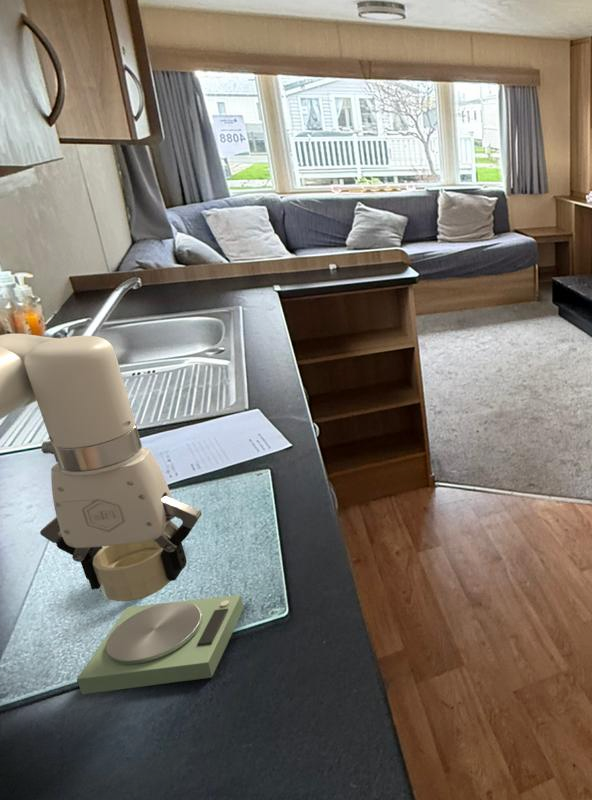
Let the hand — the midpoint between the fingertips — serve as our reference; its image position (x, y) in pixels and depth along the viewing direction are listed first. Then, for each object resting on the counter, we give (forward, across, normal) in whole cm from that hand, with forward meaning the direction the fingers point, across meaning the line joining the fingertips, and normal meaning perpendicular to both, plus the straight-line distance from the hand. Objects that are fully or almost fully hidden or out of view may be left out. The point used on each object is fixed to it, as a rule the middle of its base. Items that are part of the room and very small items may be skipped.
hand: (139, 576), depth 78 cm
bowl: (+1, 0, 0) cm, 1 cm away
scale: (+11, +1, 0) cm, 11 cm away
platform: (+9, 0, 0) cm, 9 cm away
